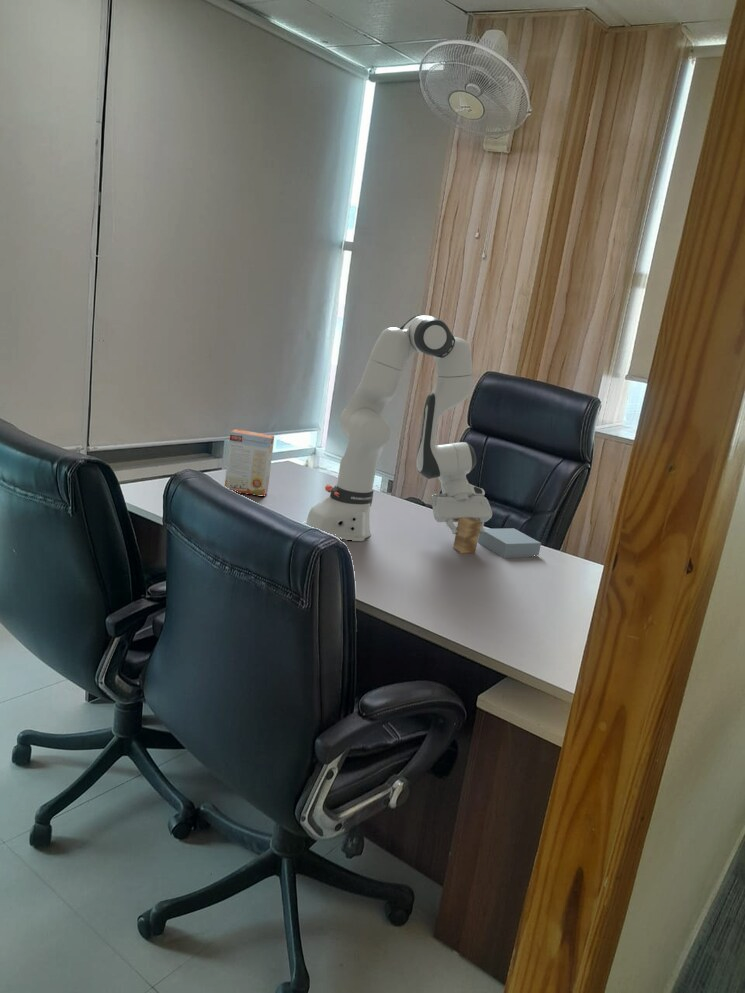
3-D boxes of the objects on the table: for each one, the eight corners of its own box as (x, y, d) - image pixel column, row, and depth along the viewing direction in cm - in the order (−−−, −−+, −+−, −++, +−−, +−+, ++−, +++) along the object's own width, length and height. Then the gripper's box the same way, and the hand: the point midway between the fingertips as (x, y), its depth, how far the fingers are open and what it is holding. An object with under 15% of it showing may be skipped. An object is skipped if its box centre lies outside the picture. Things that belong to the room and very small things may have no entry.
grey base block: (503, 559, 244) (506, 543, 243) (477, 543, 256) (480, 528, 255) (537, 557, 251) (541, 543, 250) (511, 542, 263) (514, 528, 262)
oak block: (461, 553, 242) (467, 522, 240) (453, 547, 246) (459, 517, 244) (475, 552, 245) (481, 522, 242) (466, 547, 249) (472, 517, 246)
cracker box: (267, 494, 272) (275, 435, 267) (263, 498, 266) (271, 438, 261) (228, 486, 273) (235, 428, 267) (223, 491, 267) (230, 430, 262)
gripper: (434, 488, 242) (445, 529, 236) (488, 489, 252) (500, 528, 246) (424, 498, 247) (435, 538, 241) (477, 498, 257) (489, 537, 251)
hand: (468, 533), depth 244 cm, fingers open, 8 cm apart
